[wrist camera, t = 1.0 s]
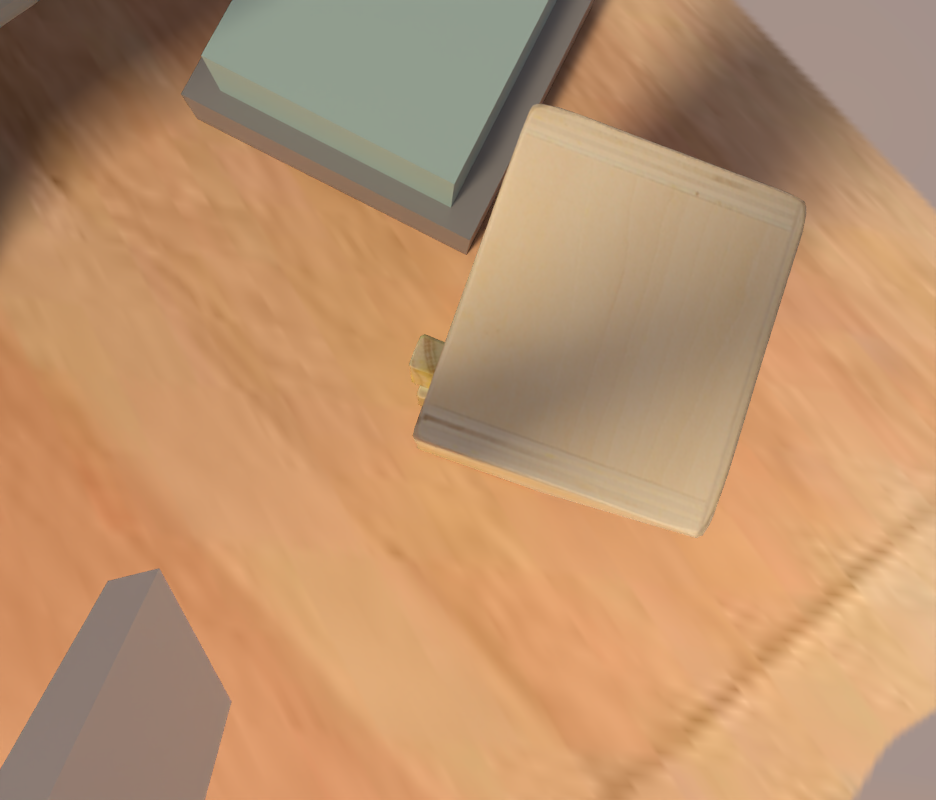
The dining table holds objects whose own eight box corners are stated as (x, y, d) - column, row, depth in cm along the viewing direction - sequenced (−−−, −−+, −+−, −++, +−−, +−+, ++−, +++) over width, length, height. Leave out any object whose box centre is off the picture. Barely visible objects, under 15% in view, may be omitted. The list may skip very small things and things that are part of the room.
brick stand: (197, 118, 36) (157, 59, 30) (335, -130, 37) (321, -230, 32) (466, 254, 36) (475, 220, 31) (592, 5, 38) (622, -71, 32)
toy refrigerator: (454, 293, 36) (506, 80, 15) (590, 343, 36) (824, 202, 15) (400, 442, 35) (375, 435, 14) (539, 492, 36) (712, 554, 15)
